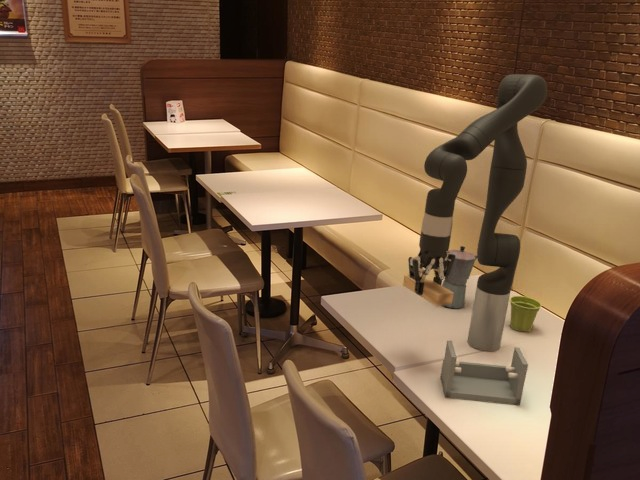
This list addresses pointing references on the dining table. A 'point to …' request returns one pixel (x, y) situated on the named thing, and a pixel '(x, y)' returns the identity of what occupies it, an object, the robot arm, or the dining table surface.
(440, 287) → the shelf board
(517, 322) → the plant pot
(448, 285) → the moka pot
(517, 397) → the grey rack
